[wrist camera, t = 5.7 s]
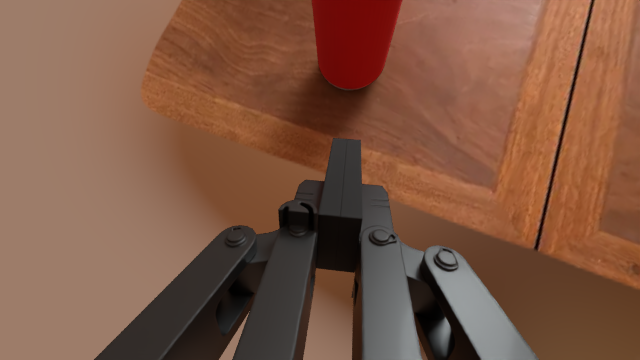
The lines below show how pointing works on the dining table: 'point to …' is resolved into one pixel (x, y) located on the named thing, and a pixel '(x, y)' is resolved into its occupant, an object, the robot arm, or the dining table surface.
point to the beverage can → (353, 39)
